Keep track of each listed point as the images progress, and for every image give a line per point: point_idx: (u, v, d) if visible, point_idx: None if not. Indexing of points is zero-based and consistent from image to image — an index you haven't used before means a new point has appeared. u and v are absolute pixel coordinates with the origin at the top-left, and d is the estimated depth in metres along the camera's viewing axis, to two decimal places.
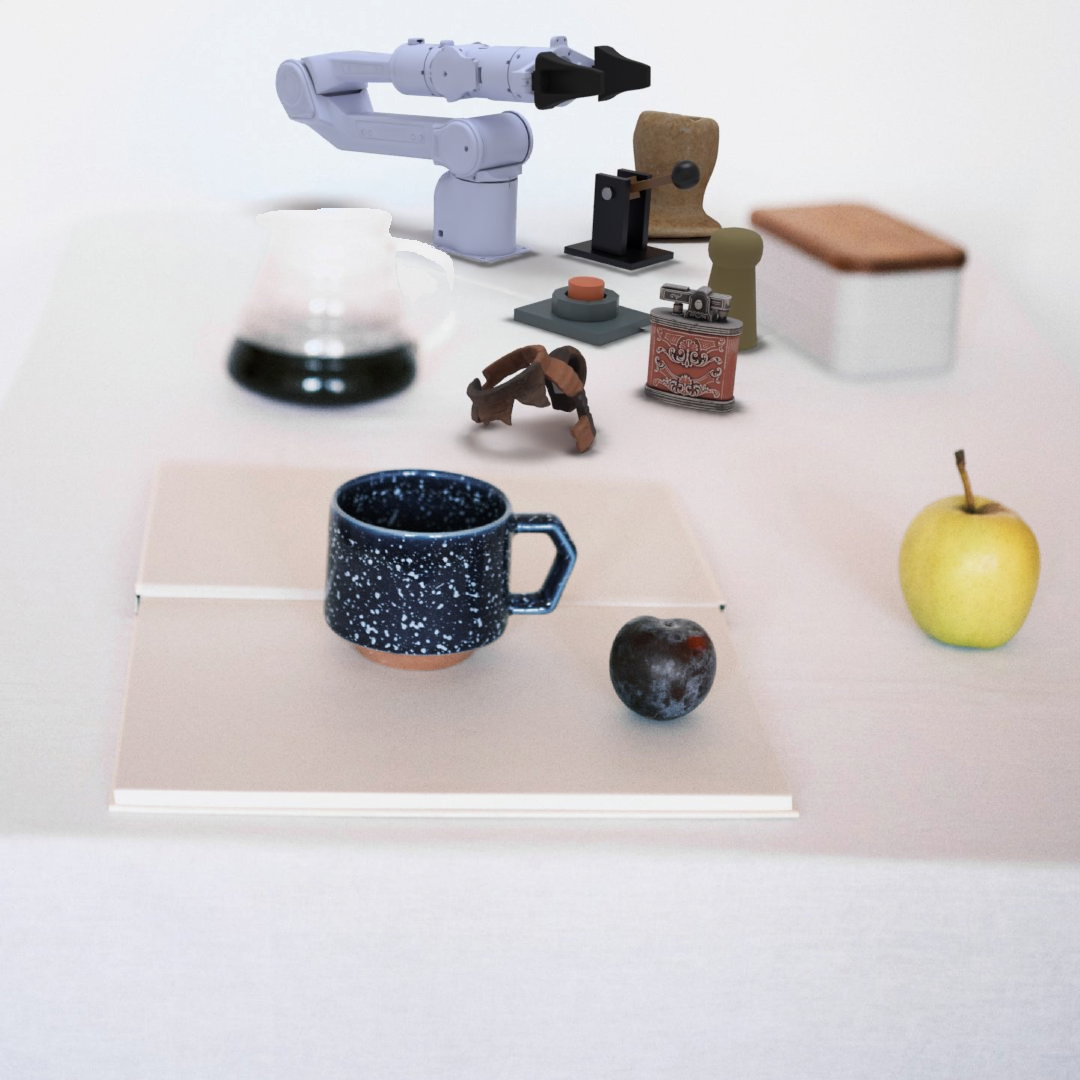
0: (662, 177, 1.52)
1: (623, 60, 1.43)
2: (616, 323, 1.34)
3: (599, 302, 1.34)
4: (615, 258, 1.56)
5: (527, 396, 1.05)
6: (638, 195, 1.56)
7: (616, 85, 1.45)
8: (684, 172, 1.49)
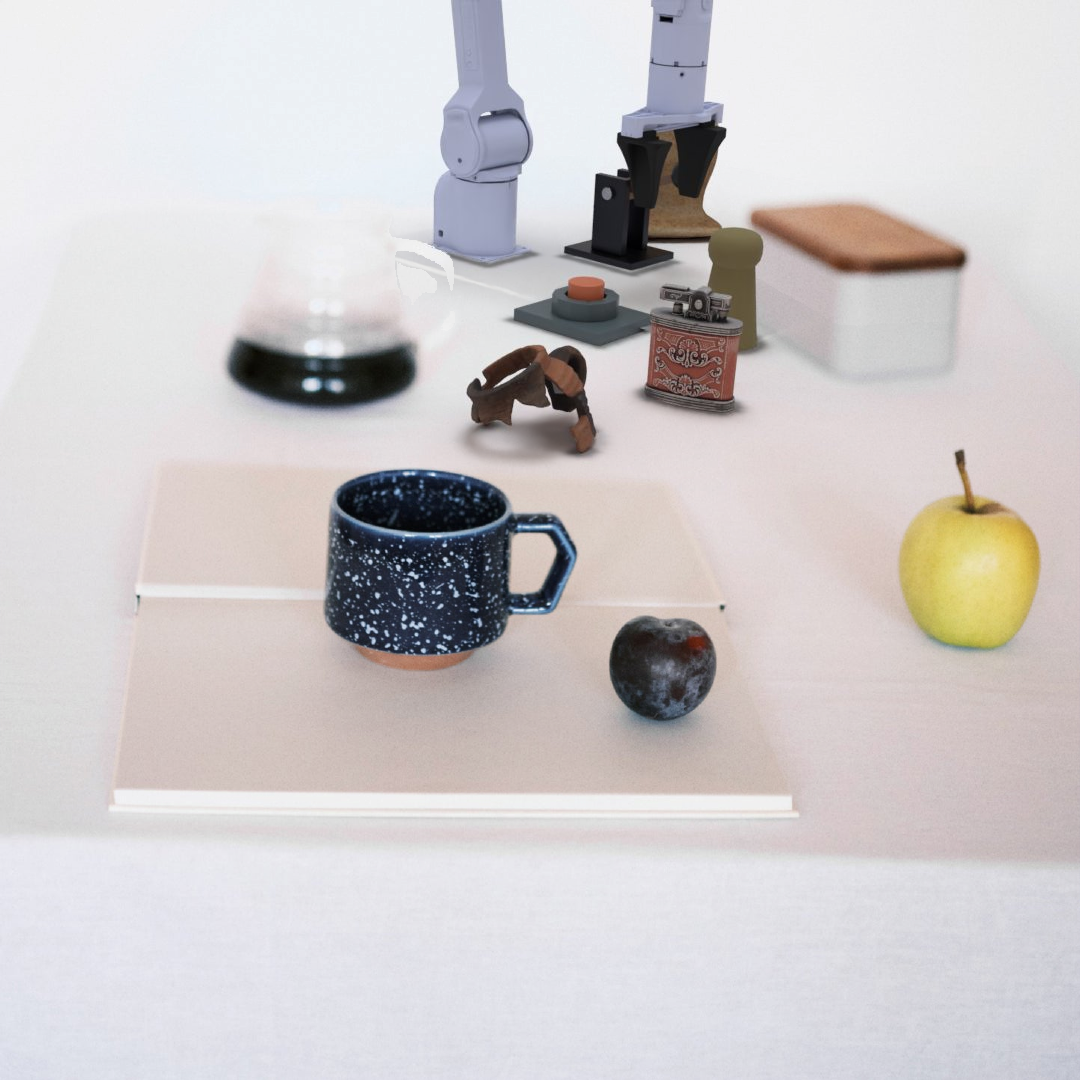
0: (662, 177, 1.52)
1: (702, 168, 1.42)
2: (616, 323, 1.34)
3: (599, 302, 1.34)
4: (615, 258, 1.56)
5: (527, 396, 1.05)
6: None
7: (683, 154, 1.43)
8: None
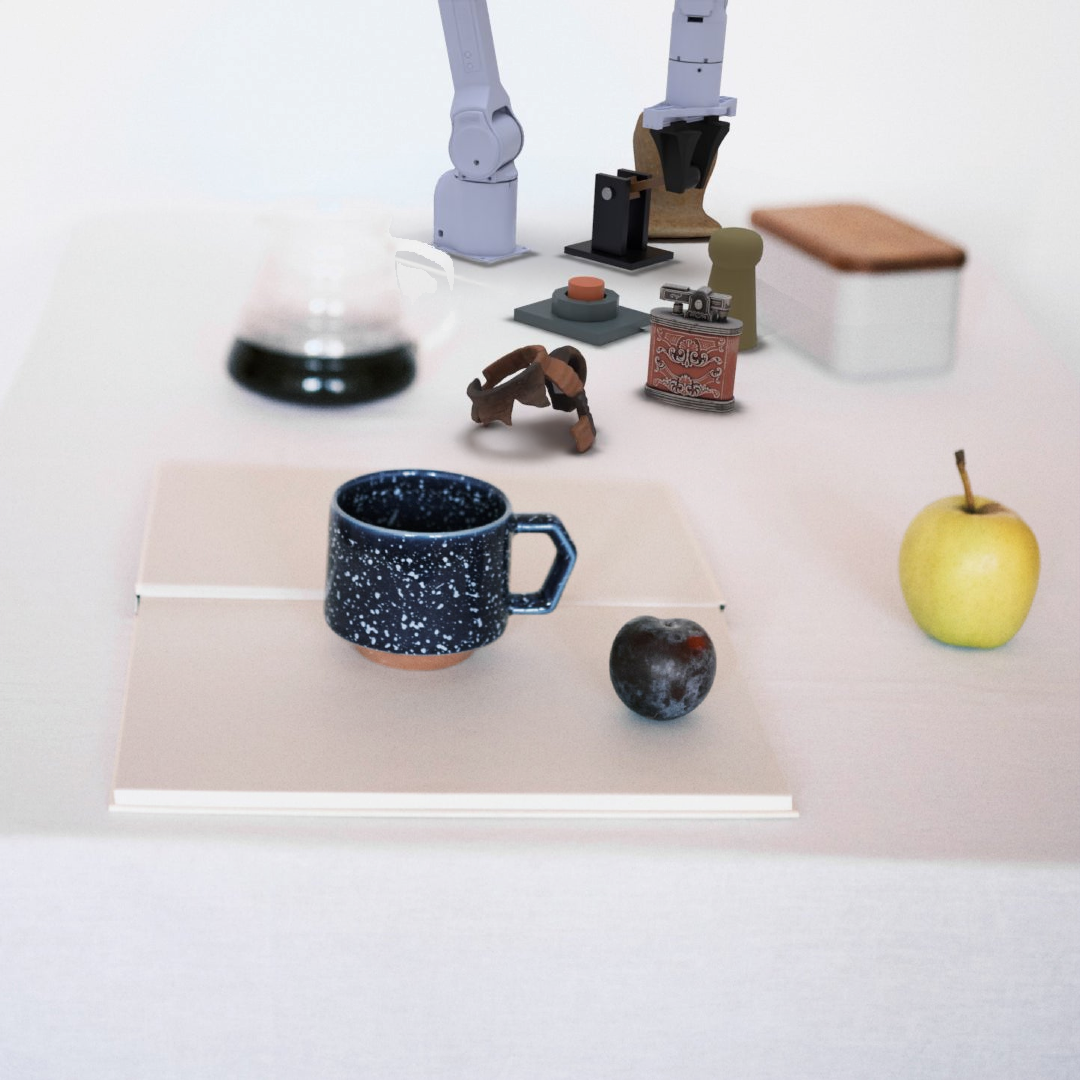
0: (662, 177, 1.52)
1: (707, 160, 1.50)
2: (616, 323, 1.34)
3: (599, 302, 1.34)
4: (615, 258, 1.56)
5: (527, 396, 1.05)
6: (638, 195, 1.56)
7: None
8: None
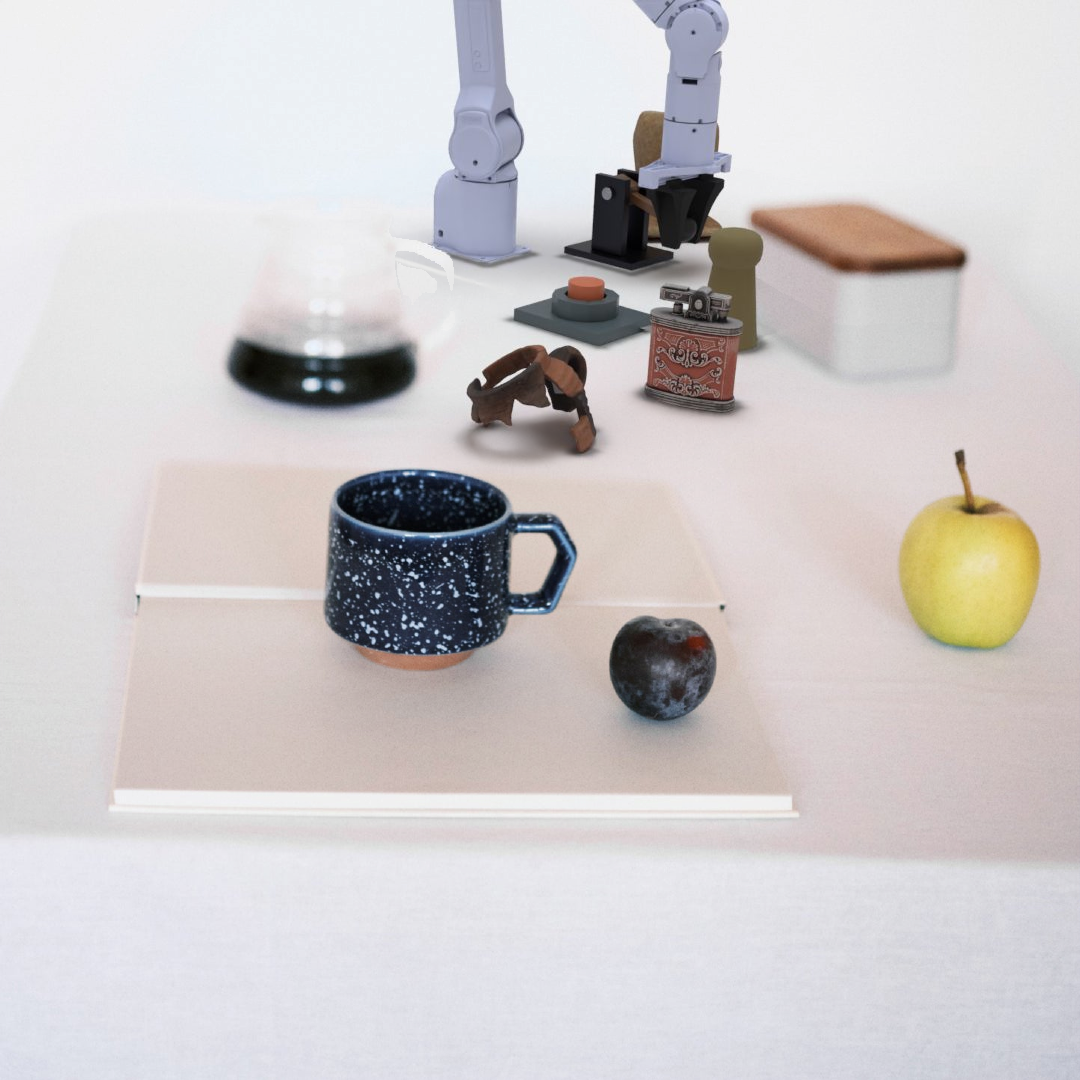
0: None
1: (702, 216, 1.53)
2: (616, 323, 1.34)
3: (599, 302, 1.34)
4: (615, 258, 1.56)
5: (527, 396, 1.05)
6: (633, 202, 1.57)
7: None
8: None
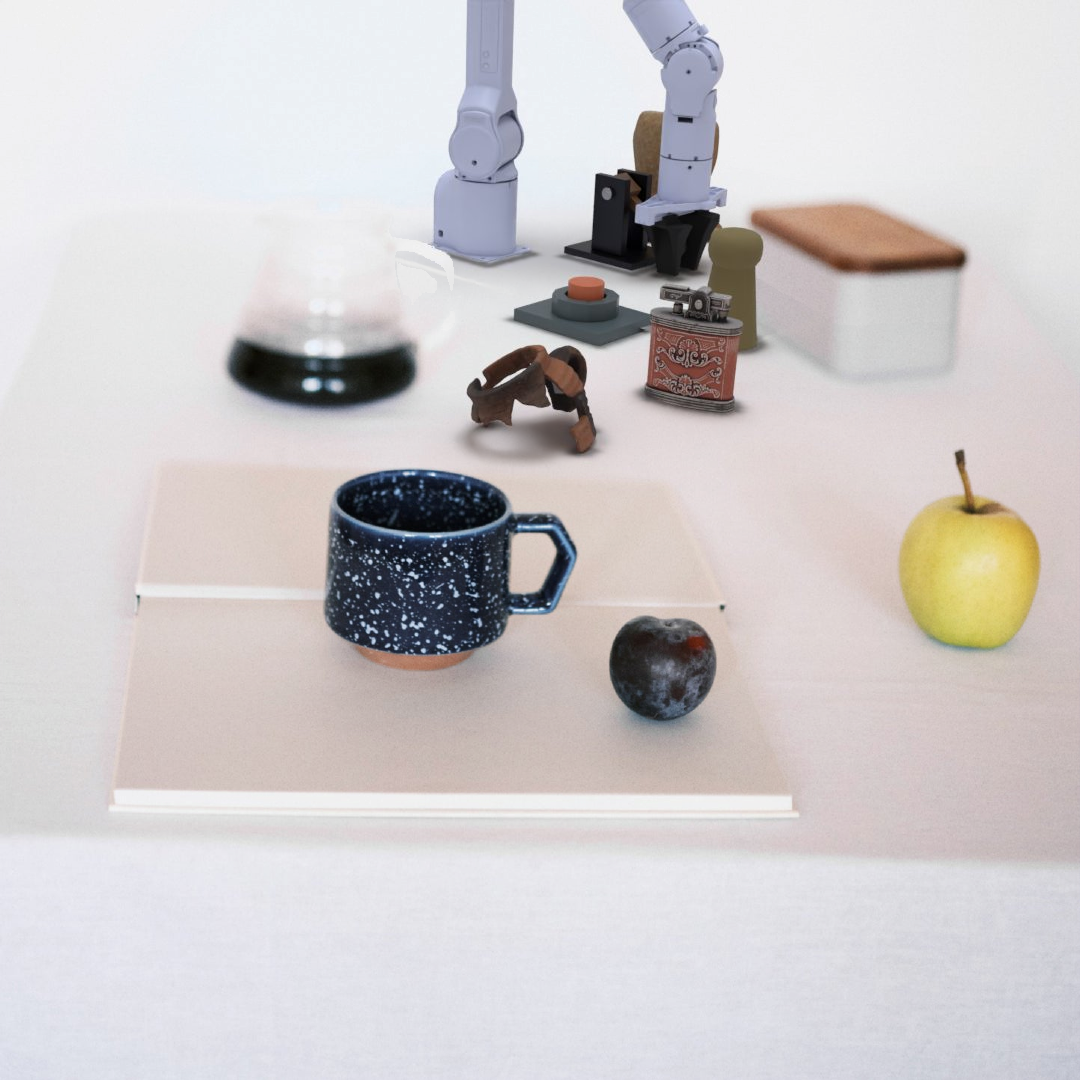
0: None
1: (698, 250, 1.54)
2: (616, 323, 1.34)
3: (599, 302, 1.34)
4: (615, 258, 1.56)
5: (527, 396, 1.05)
6: None
7: None
8: None
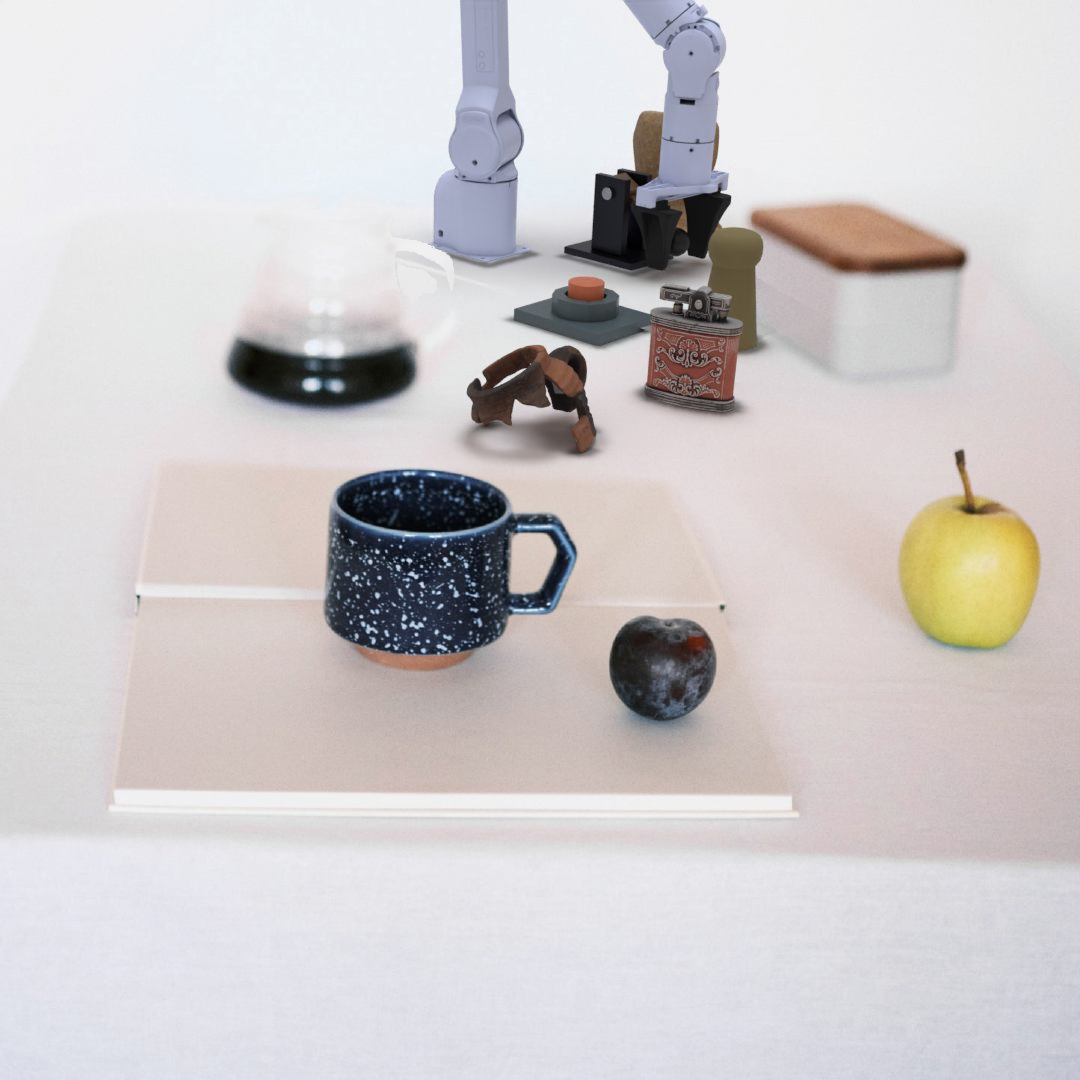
0: None
1: (709, 231, 1.55)
2: (616, 323, 1.34)
3: (599, 302, 1.34)
4: (615, 258, 1.56)
5: (527, 396, 1.05)
6: None
7: (692, 219, 1.56)
8: (674, 247, 1.53)
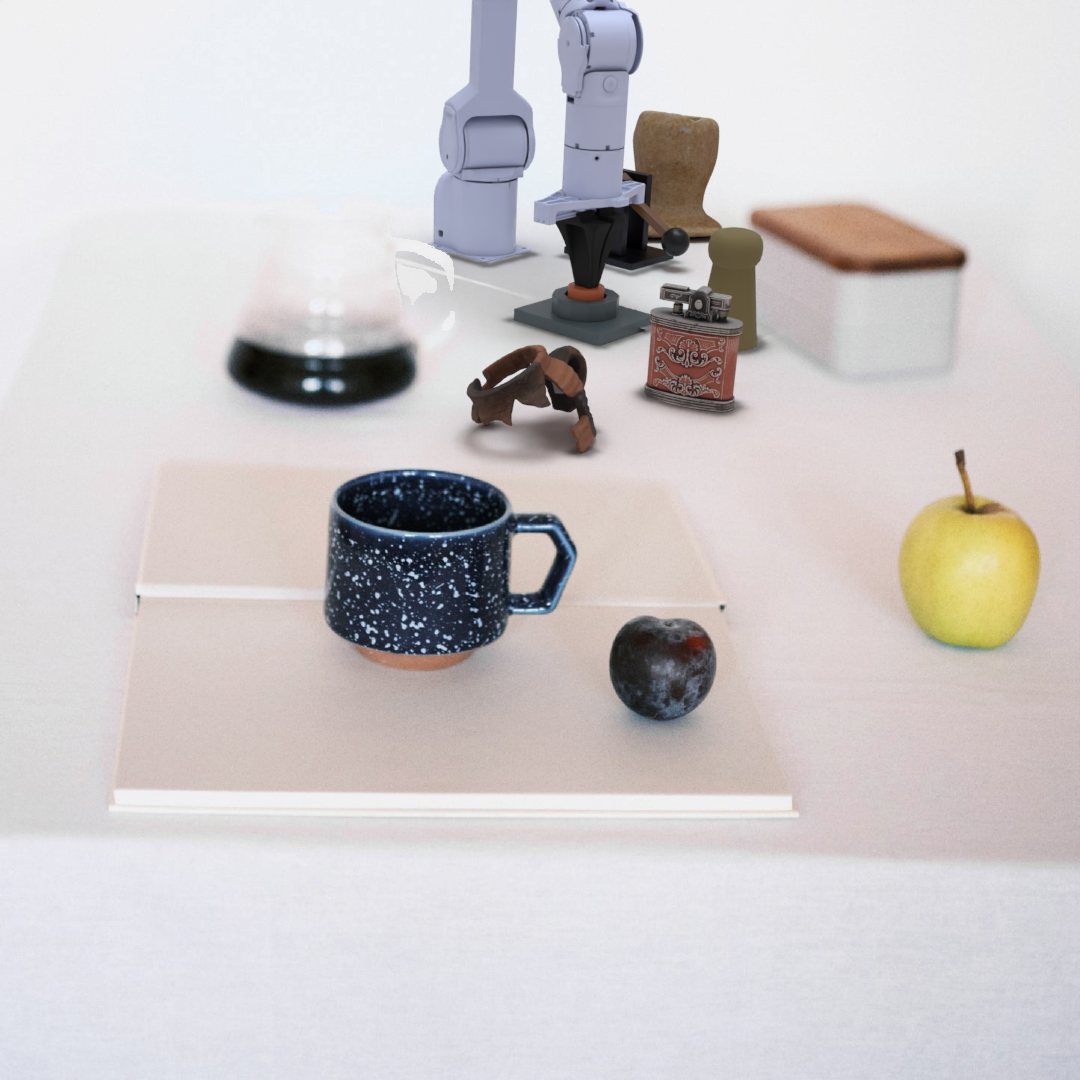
0: (657, 224, 1.54)
1: (601, 256, 1.34)
2: (616, 323, 1.34)
3: (599, 302, 1.34)
4: (615, 258, 1.56)
5: (527, 396, 1.05)
6: None
7: None
8: (674, 247, 1.53)
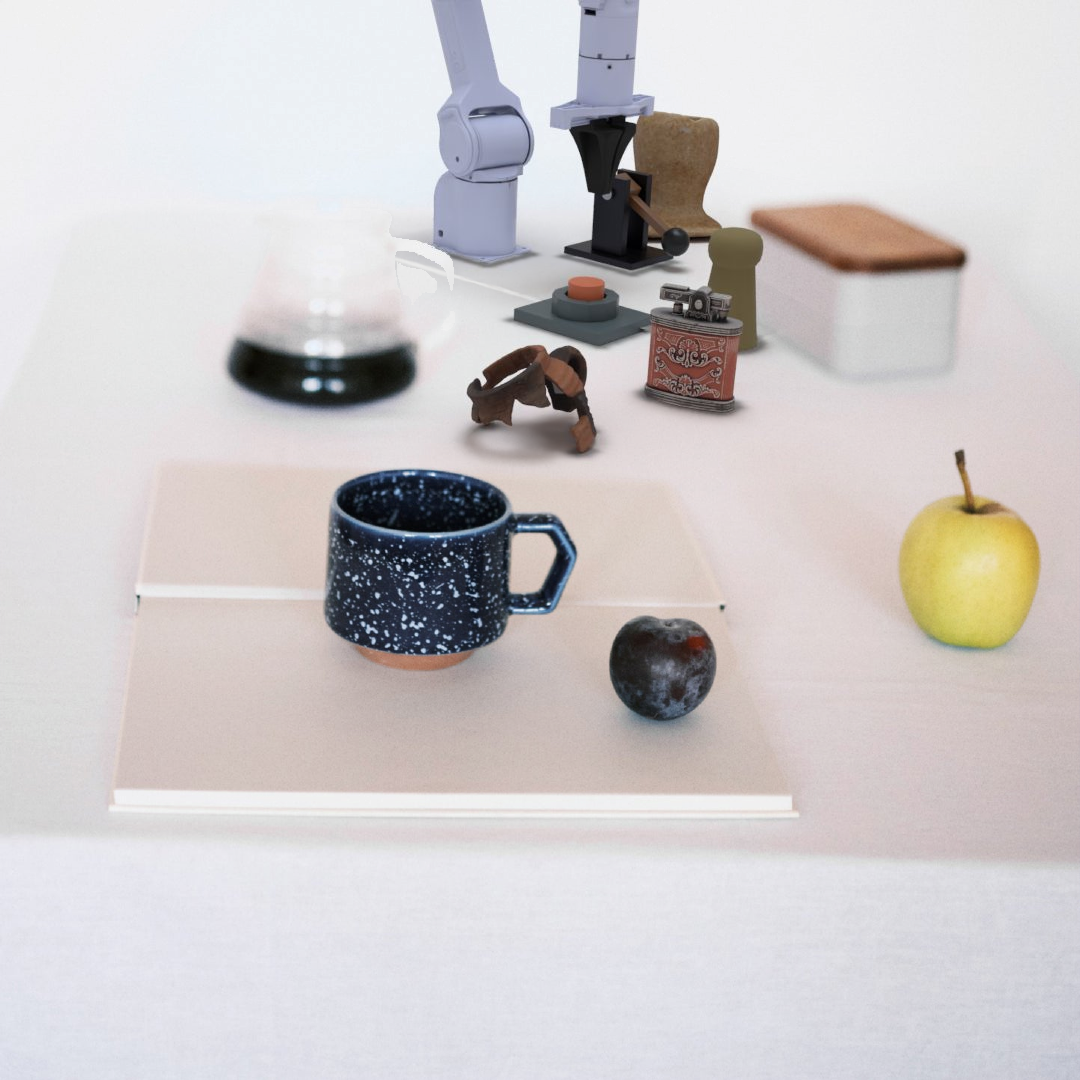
0: (657, 224, 1.54)
1: (613, 163, 1.42)
2: (616, 323, 1.34)
3: (599, 302, 1.34)
4: (615, 258, 1.56)
5: (527, 396, 1.05)
6: None
7: None
8: (674, 247, 1.53)
